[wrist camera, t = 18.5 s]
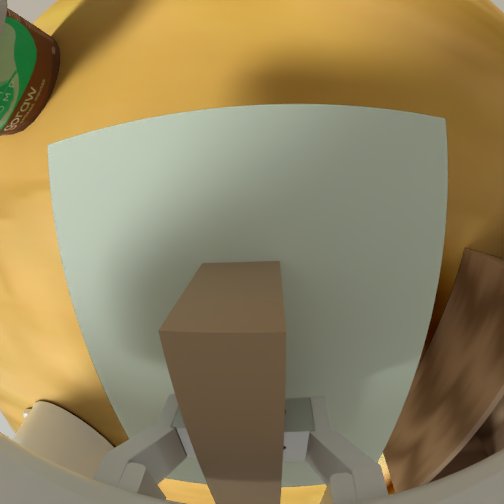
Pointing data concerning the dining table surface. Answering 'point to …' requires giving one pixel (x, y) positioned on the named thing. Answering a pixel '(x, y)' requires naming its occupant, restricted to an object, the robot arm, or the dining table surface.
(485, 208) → the dining table surface
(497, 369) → the toolbox
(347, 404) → the toolbox lid
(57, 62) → the food container
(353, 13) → the dining table surface
